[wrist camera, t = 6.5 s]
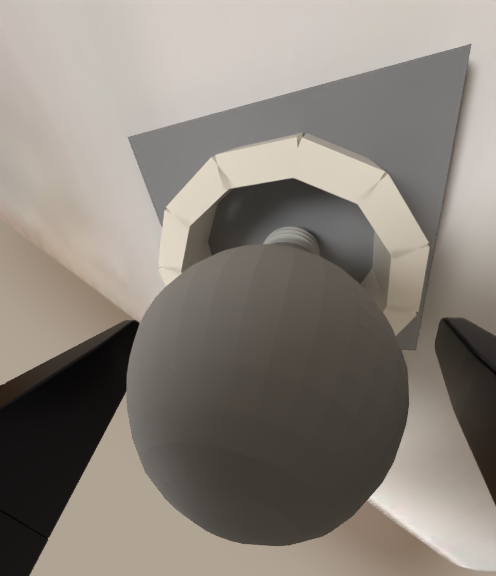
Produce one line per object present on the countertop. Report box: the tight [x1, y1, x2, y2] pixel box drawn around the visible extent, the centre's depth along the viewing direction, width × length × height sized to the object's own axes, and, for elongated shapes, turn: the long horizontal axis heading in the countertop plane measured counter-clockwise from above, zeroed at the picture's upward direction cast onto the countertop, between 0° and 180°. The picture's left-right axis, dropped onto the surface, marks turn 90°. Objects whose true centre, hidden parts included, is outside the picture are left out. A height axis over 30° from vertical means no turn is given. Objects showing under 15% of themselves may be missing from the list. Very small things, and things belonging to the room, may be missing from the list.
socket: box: [128, 44, 471, 350], centre depth 11 cm, size 12×12×4 cm
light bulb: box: [127, 226, 409, 546], centre depth 8 cm, size 6×6×10 cm
